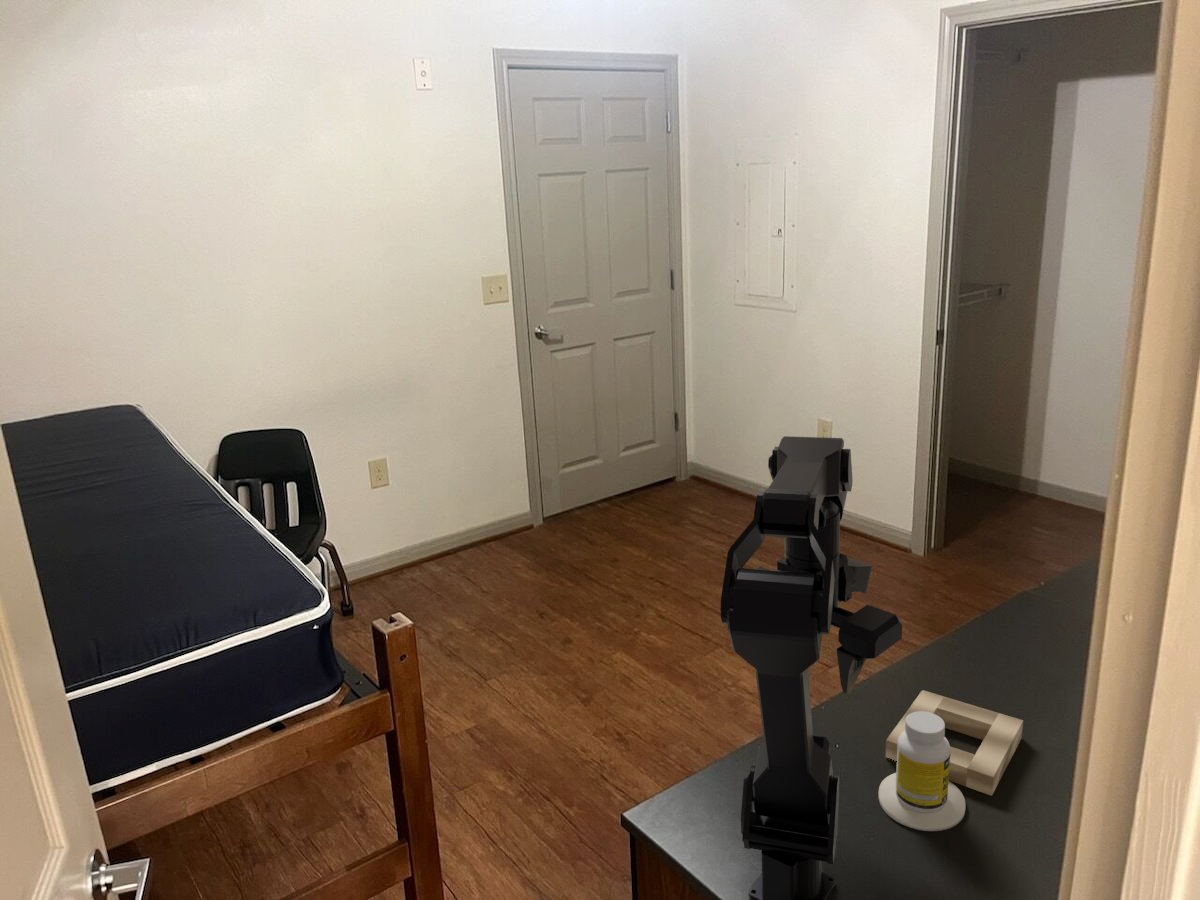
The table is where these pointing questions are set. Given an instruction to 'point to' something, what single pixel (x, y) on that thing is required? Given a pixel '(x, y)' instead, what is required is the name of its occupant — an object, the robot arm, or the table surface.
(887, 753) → the frame
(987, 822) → the table surface
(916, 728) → the supplement bottle
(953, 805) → the ceramic coaster
